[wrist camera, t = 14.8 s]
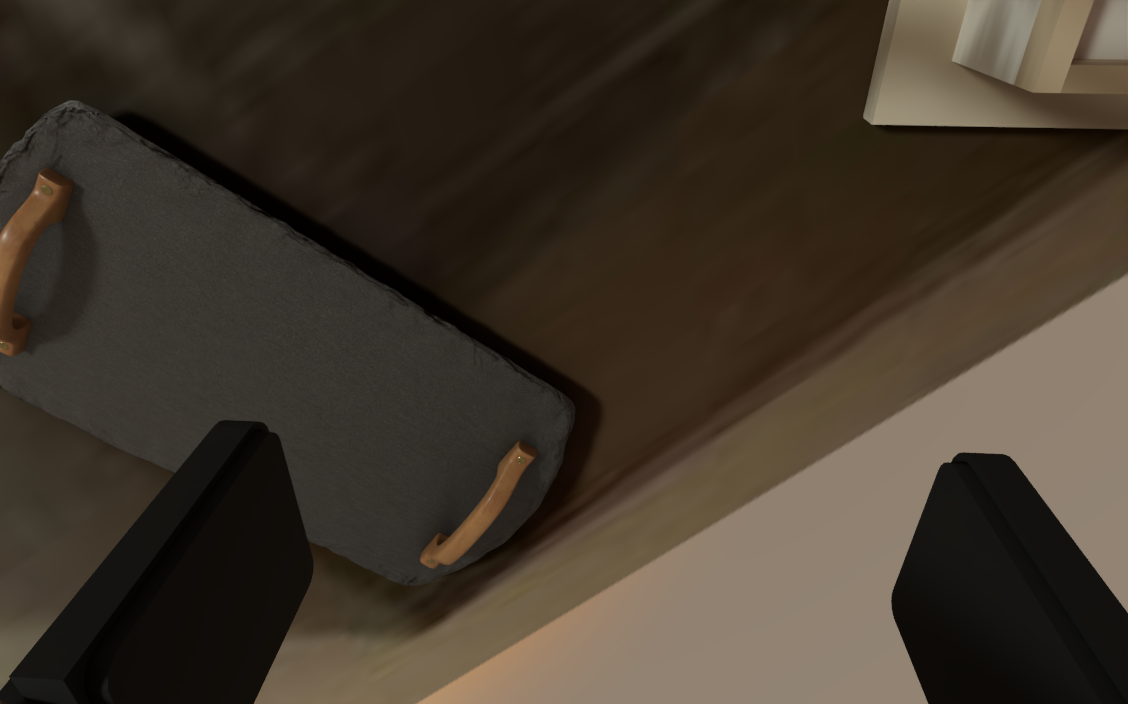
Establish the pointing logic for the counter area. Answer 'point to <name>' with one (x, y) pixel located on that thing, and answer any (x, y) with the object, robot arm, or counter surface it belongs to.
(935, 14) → the display stand
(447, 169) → the counter surface
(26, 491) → the counter surface
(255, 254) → the serving board
